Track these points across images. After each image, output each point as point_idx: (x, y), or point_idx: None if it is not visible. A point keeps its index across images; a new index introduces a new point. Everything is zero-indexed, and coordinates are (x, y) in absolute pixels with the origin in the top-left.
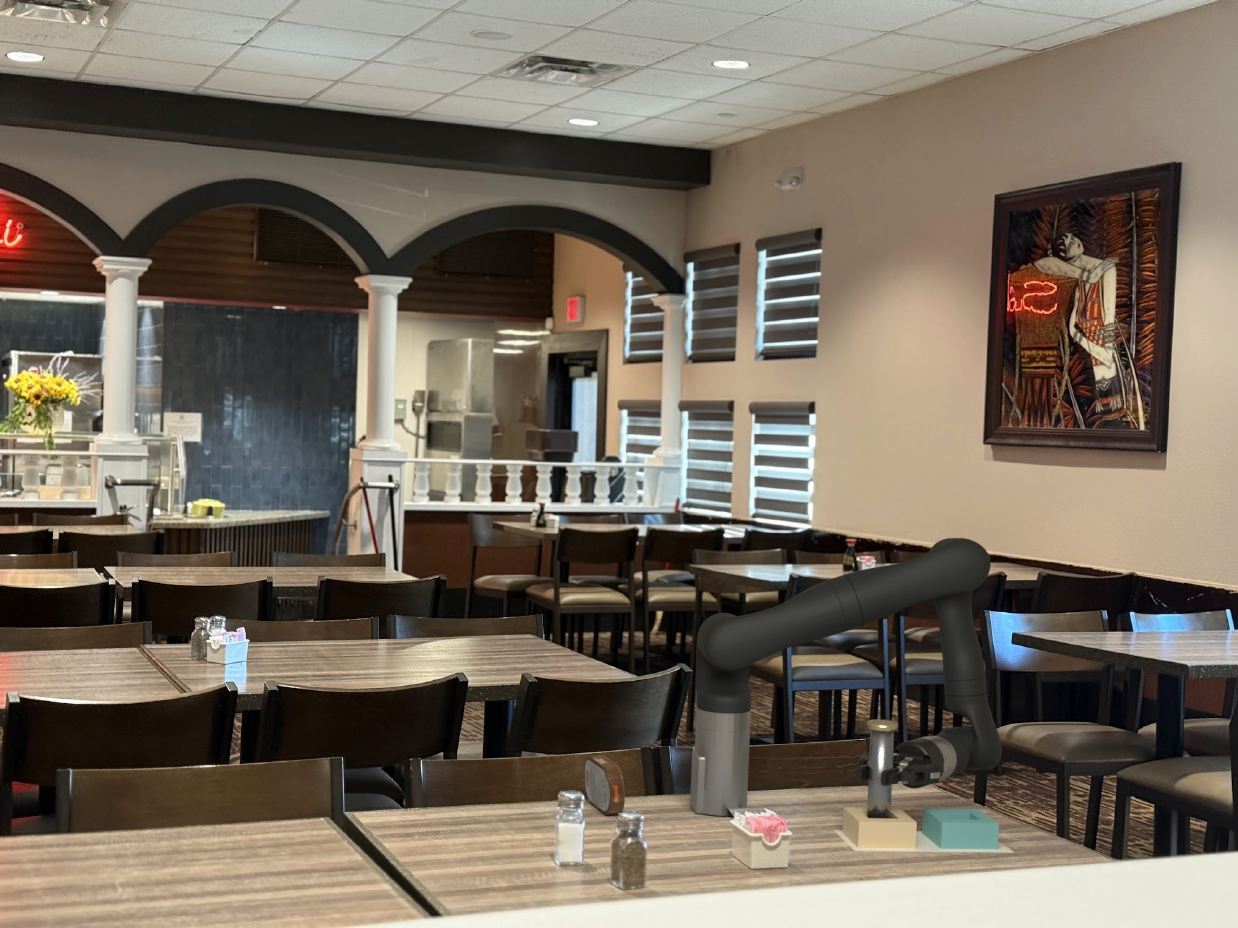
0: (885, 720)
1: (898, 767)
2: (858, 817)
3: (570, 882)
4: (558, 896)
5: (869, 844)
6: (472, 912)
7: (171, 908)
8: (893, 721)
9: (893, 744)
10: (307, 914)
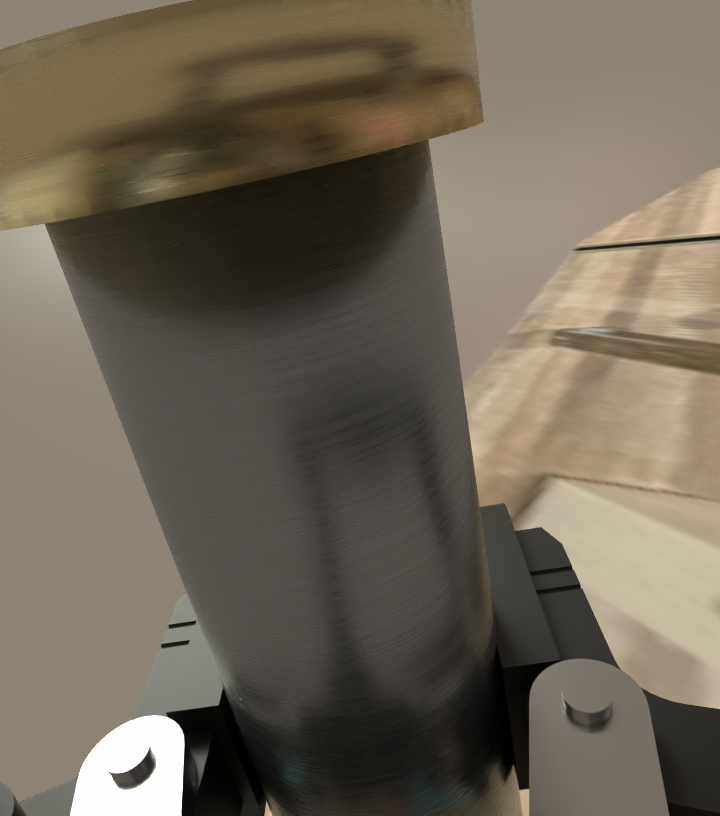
0: (223, 13)
1: (157, 746)
2: None
3: (631, 305)
4: (574, 294)
5: None
6: (567, 260)
7: (700, 189)
8: (16, 53)
9: (129, 443)
10: (636, 217)
